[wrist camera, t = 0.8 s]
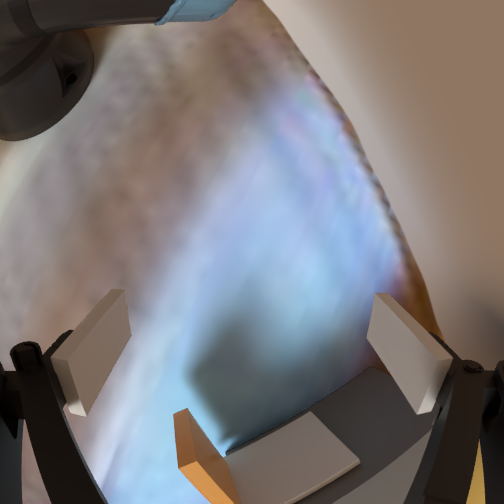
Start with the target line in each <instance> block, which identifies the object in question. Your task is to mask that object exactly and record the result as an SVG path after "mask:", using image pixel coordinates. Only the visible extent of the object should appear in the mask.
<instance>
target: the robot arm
mask: <svg viewBox="0 0 504 504" xmlns="http://www.w3.org/2000/svg"><path fill="white" fill-rule="evenodd" d="M235 2H236V0H0V139H1V140H5V141H20V140H24V139H28V138H31V137H34V136H36V135H38V134H40V133H42V132H44V131H46V130H47V129H49V128H50V127H52V126H53V125H55V124H56V123H57V122H59V121H60V120H61V119H62V118H63V117H64V116H65V115H66V114H67V113H68V112H69V111H70V110H71V109H72V108H73V107H74V106H75V104H76V103H77V102H78V100H79V99H80V98H81V96H82V95H83V93H84V91H85V90H86V88H87V86H88V83H89V81H90V78H91V75H92V72H93V66H94V56H93V51H92V47H91V44H90V41H89V38H88V36H87V34H86V33H85V31H84V30H83V29H87V28H95V27H104V26H114V25H127V24H149V23H154V24H155V25H163V24H165V23H166V22H202V21H209V20H213V19H215V18H217V17H219V16H221V15H222V14H224V13H225V12H226V11H227V10H228V9H229V8H230V7H231V6H232V5H233V4H234V3H235ZM130 337H131V330H130V323H129V316H128V309H127V301H126V293H125V290H120V289H112V290H111V291H110V292H109V293H108V294H107V295H106V296H105V297H104V298H103V299H102V300H101V301H100V302H99V303H98V304H97V306H96V307H95V308H94V309H93V310H92V311H91V312H90V313H89V314H88V315H87V316H86V317H85V319H84V320H83V321H82V322H81V323H80V324H79V325H78V326H77V327H76V329H75V330H68V331H67V332H65V333H63V334H61V335H60V336H59V338H58V339H57V340H56V342H54V343H53V344H52V345H51V347H49V349H48V350H47V351H46V352H45V353H44V354H43V355H42V352H41V348H40V346H39V344H38V343H35V342H31V341H28V342H22V343H19V344H17V345H16V346H14V347H13V348H12V349H11V351H10V356H11V358H12V361H13V364H14V367H15V369H16V371H4V368H3V366H2V364H1V362H0V504H22V481H21V461H22V436H23V422H24V419H25V421H26V425H27V429H28V433H29V437H30V441H31V444H32V448H33V451H34V455H35V458H36V461H37V465H38V468H39V471H40V474H41V477H42V479H43V482H44V485H45V488H46V490H47V493H48V496H49V498H50V501H51V503H52V504H108V502H107V500H106V499H105V497H104V495H103V493H102V492H101V490H100V488H99V486H98V485H97V483H96V481H95V479H94V477H93V475H92V473H91V471H90V469H89V467H88V465H87V463H86V461H85V459H84V457H83V455H82V453H81V451H80V449H79V447H78V445H77V442H76V440H75V438H74V435H73V433H72V431H71V428H70V426H69V424H68V421H67V419H66V416H65V414H64V411H63V407H64V405H65V404H66V403H67V405H68V408H69V410H70V413H73V414H77V415H82V416H86V417H87V415H88V413H89V411H90V409H91V407H92V406H93V404H94V402H95V400H96V398H97V396H98V394H99V392H100V391H101V389H102V387H103V385H104V383H105V381H106V380H107V378H108V376H109V374H110V372H111V371H112V369H113V367H114V365H115V363H116V362H117V360H118V358H119V356H120V355H121V353H122V351H123V349H124V348H125V346H126V344H127V343H128V341H129V339H130ZM366 338H367V339H368V341H369V342H370V344H371V345H372V347H373V348H374V350H375V351H376V353H377V354H378V356H379V357H380V359H381V360H382V362H383V363H384V365H385V366H386V368H387V369H388V371H389V372H390V374H391V375H392V377H393V378H394V380H395V381H396V383H397V385H398V386H399V388H400V389H401V391H402V392H403V394H404V395H405V397H406V398H407V400H408V402H409V403H410V405H411V406H412V408H413V410H414V411H415V413H416V414H422V413H426V412H430V411H432V408H433V406H434V404H435V402H436V400H437V402H438V403H439V405H440V407H439V410H438V412H437V414H436V416H435V418H434V420H433V422H432V424H431V425H433V428H432V431H431V434H430V437H429V440H428V443H427V446H426V449H425V452H424V454H423V457H422V460H421V462H420V465H419V468H418V470H417V473H416V475H415V478H414V480H413V482H412V485H411V487H410V489H409V492H408V494H407V496H406V498H405V500H404V503H403V504H466V501H467V497H468V493H469V489H470V485H471V480H472V476H473V471H474V466H475V461H476V455H477V449H478V442H479V439H480V446H481V454H482V463H483V472H484V484H485V502H486V503H485V504H504V360H503V361H500V362H498V364H497V366H496V368H495V371H487V370H484V368H483V367H482V366H481V365H480V364H479V363H477V362H475V361H472V360H461V359H460V358H459V357H458V355H457V354H456V353H454V351H453V350H452V349H451V348H449V346H448V345H447V344H446V343H444V341H443V340H441V339H440V338H439V337H438V336H437V335H435V334H433V333H431V332H427V331H426V330H425V329H424V328H423V327H422V326H421V325H420V324H419V323H418V322H417V321H416V320H415V319H414V318H413V317H412V316H411V315H410V314H409V313H408V312H407V311H406V310H405V309H404V308H403V307H402V306H401V305H400V304H399V303H397V302H396V301H395V300H394V299H393V298H392V297H391V296H390V295H389V294H388V293H375V296H374V302H373V307H372V313H371V318H370V323H369V328H368V333H367V337H366Z"/></svg>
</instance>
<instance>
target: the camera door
mask: <svg viewBox="0 0 504 504" xmlns="http://www.w3.org/2000/svg"><path fill="white" fill-rule="evenodd" d="M173 417H174V429H175V441H176V451H177V460H178V469H179V470H180V471H181V472H182V473H183V474H184V475H185V477H186V478H187V479H188V480H189V481H190V482H191V483H192V484H193V485H194V486H195V487H196V489H197V490H198V491H199V492H200V493H201V494H202V495H203V496H204V497H205V498H206V499H207V500H208V501H209V502H210V503H211V504H293V503H295V502H297V501H299V500H301V499H302V498H304V497H306V496H308V495H310V494H312V493H313V492H315V491H317V490H319V489H320V488H322V487H324V486H325V485H327V484H329V483H330V482H332V481H334V480H335V479H337V478H338V477H340V476H341V475H343V474H345V473H346V472H348V471H349V470H351V469H352V468H354V467H355V466H357V465H358V464H360V460H359V458H358V457H357V456H356V455H355V454H354V453H352V452H351V451H350V450H349V449H348V448H347V447H346V446H345V445H344V444H343V443H342V442H341V441H340V440H339V439H338V438H337V437H336V436H335V435H334V434H333V433H332V432H331V431H330V430H329V429H328V428H327V427H326V426H325V425H324V424H323V423H322V422H321V421H320V420H319V419H318V418H317V417H316V416H315V415H314V414H313V413H312V412H311V411H310V412H308V413H306V414H305V415H303V416H301V417H300V418H298V419H296V420H295V421H293V422H291V423H289V424H288V425H286V426H284V427H282V428H280V429H279V430H277V431H275V432H273V433H271V434H269V435H268V436H266V437H264V438H262V439H260V440H258V441H256V442H254V443H252V444H250V445H248V446H246V447H244V448H242V449H240V450H238V451H236V452H234V453H232V454H230V455H227V456H225V457H222V456H221V455H220V453H219V452H218V451H217V449H216V448H215V447H214V445H213V444H212V443H211V441H210V440H209V439H208V437H207V436H206V434H205V433H204V432H203V430H202V429H201V427H200V426H199V425H198V423H197V422H196V420H195V419H194V417H193V416H192V414H191V413H190V411H189V410H188V408H186V409H184V410H182V411H179V412H177V413H175V414H173Z"/></svg>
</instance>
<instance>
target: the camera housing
mask: <svg viewBox="0 0 504 504" xmlns="http://www.w3.org/2000/svg"><path fill="white" fill-rule="evenodd" d="M439 407H440V405H439V403H438V402H437V400H436V402H435V404H434V406H433V408H432V411H430V412H426V413H422V414H416V413H415V411H414V410H413V408H412V406H411V405H410V403H409V402H408V400H407V398H406V397H405V395H404V394H403V392H402V391H401V389H400V388H399V386H398V385H397V383H396V381H395V380H394V378H393V377H391V376H389V375H387V374H385V373H383V372H381V371H379V370H377V369H375V368H374V367H372V366H371V367H369V368H368V369H367V370H365V371H364V372H362V373H361V374H360V375H358V376H357V377H355V378H354V379H352V380H351V381H350V382H348V383H347V384H345V385H344V386H342V387H341V388H339V389H338V390H336V391H335V392H333V393H332V394H330V395H329V396H327V397H325V398H324V399H322V400H321V401H319V402H318V403H316V404H314V405H313V406H311V407H309V408H308V409H306V410H305V411H303V412H301V413H300V414H298V415H296V416H294V417H293V418H291V419H289V420H287V421H286V422H284V423H282V424H280V425H279V426H277V427H275V428H273V429H271V430H269V431H268V432H266V433H264V434H262V435H260V436H258V437H256V438H254V439H252V440H250V441H248V442H246V443H244V444H242V445H240V446H238V447H236V448H234V449H232V450H230V451H228V452H225V453H226V456H227V455H230V454H232V453H234V452H236V451H238V450H240V449H242V448H244V447H246V446H248V445H250V444H252V443H254V442H256V441H258V440H260V439H262V438H264V437H266V436H268V435H269V434H271V433H273V432H275V431H277V430H279V429H280V428H282V427H284V426H286V425H288V424H289V423H291V422H293V421H295V420H296V419H298V418H300V417H301V416H303V415H305V414H306V413H308V412H310V411H311V412H312V413H313V414H314V415H315V416H316V417H317V418H318V419H319V420H320V421H321V422H322V423H323V424H324V425H325V426H326V427H327V428H328V429H329V430H330V431H331V432H332V433H333V434H334V435H335V436H336V437H337V438H338V439H339V440H340V441H341V442H342V443H343V444H344V445H345V446H346V447H347V448H348V449H349V450H350V451H351V452H352V453H354V454H355V455H356V456H357V457H358V458H359V460H360V464H358V465H357V466H355V467H354V468H352V469H351V470H349V471H348V472H346V473H345V474H343V475H341V476H340V477H338V478H337V479H335V480H334V481H332V482H330V483H329V484H327V485H325V486H324V487H322V488H320V489H319V490H317V491H315V492H313V493H312V494H310V495H308V496H306V497H304V498H302V499H301V500H299V501H297V502H295V503H293V504H403V503H404V500H405V498H406V496H407V494H408V492H409V489H410V487H411V485H412V482H413V480H414V478H415V475H416V473H417V470H418V468H419V465H420V462H421V460H422V457H423V454H424V452H425V449H426V446H427V443H428V440H429V437H430V434H431V431H432V428H433V425H431V424H432V422H433V420H434V418H435V416H436V414H437V412H438V410H439Z"/></svg>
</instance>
